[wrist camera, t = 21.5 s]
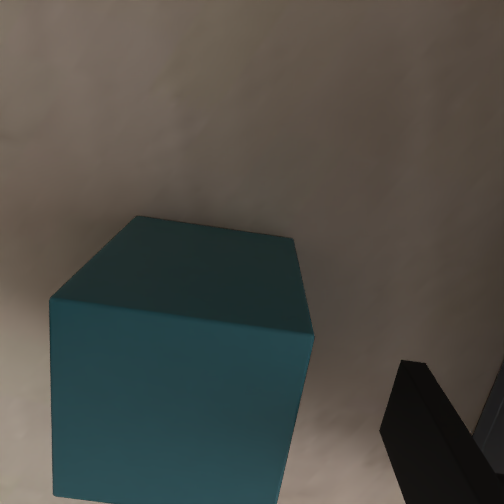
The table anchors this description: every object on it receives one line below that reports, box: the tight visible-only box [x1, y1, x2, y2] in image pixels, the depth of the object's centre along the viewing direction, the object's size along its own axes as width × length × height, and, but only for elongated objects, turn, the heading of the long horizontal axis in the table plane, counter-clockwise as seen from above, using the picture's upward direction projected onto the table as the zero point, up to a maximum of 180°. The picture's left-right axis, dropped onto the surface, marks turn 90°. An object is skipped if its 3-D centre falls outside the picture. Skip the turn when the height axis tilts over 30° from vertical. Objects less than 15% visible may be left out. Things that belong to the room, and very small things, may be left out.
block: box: [49, 216, 315, 504], centre depth 14 cm, size 6×6×7 cm
